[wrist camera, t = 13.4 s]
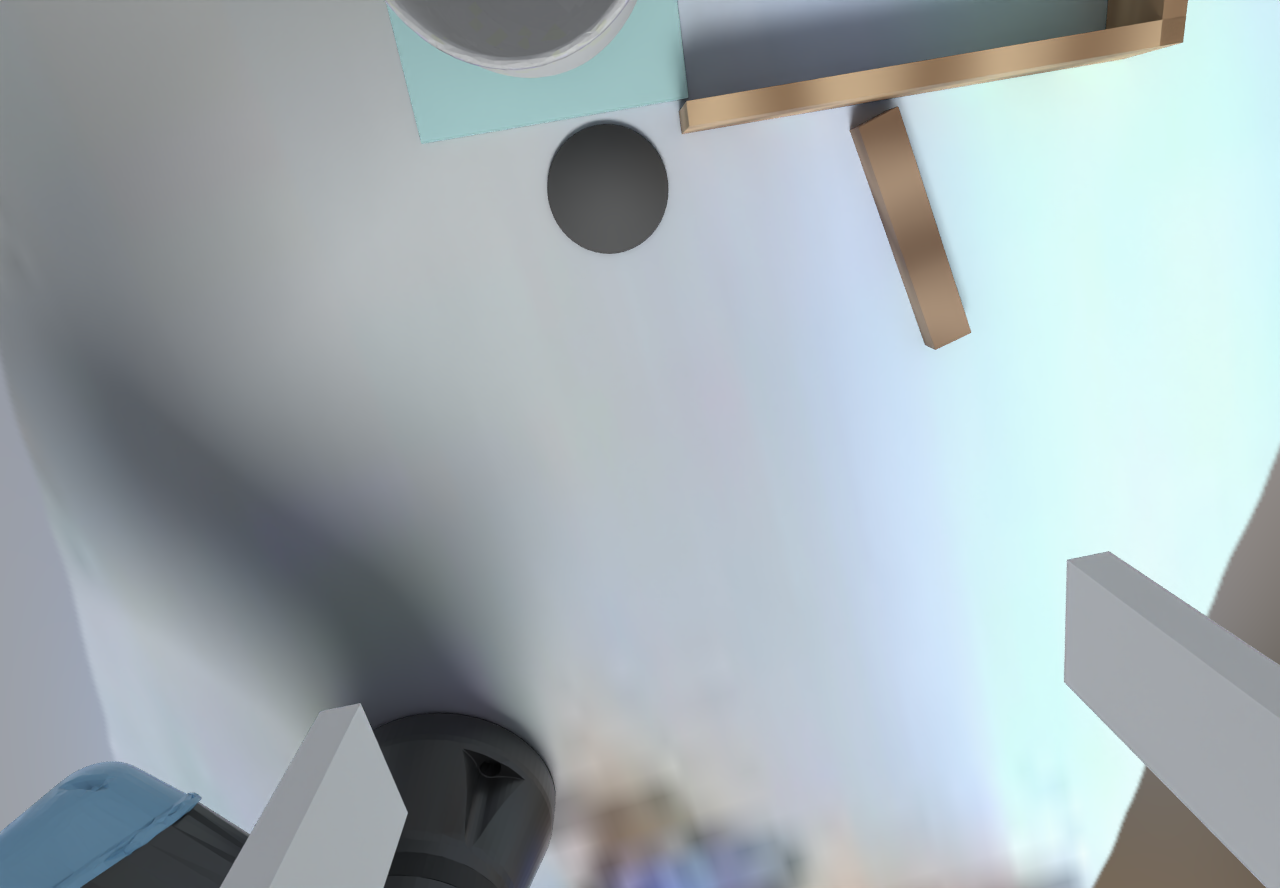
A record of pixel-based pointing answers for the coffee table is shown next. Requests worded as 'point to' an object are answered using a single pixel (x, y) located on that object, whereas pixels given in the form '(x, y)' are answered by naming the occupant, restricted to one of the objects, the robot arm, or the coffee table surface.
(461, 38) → the teacup
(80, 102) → the coffee table surface
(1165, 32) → the cubby
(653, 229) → the disc
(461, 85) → the mat
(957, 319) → the walnut bar
